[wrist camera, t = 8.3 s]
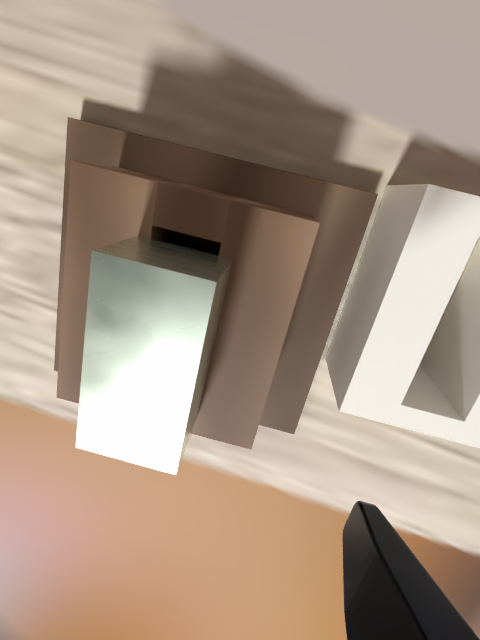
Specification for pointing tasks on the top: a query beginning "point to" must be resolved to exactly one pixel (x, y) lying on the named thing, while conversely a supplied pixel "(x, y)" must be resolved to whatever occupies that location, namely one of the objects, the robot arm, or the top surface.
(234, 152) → the top surface
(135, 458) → the pale grey block
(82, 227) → the channel mount plate
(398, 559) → the robot arm
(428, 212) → the holder
